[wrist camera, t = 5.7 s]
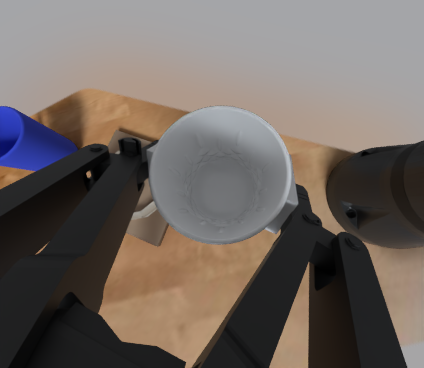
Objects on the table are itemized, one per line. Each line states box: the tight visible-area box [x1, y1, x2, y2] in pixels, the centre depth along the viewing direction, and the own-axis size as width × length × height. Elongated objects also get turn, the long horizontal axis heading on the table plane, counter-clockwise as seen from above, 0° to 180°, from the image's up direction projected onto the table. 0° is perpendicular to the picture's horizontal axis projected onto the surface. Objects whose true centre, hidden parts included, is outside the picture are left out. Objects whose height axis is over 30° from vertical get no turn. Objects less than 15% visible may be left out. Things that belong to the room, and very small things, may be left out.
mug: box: [0, 106, 78, 171], centre depth 27 cm, size 8×12×10 cm
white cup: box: [149, 106, 292, 245], centre depth 14 cm, size 8×8×10 cm
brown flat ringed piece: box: [108, 130, 169, 247], centre depth 28 cm, size 16×16×3 cm
